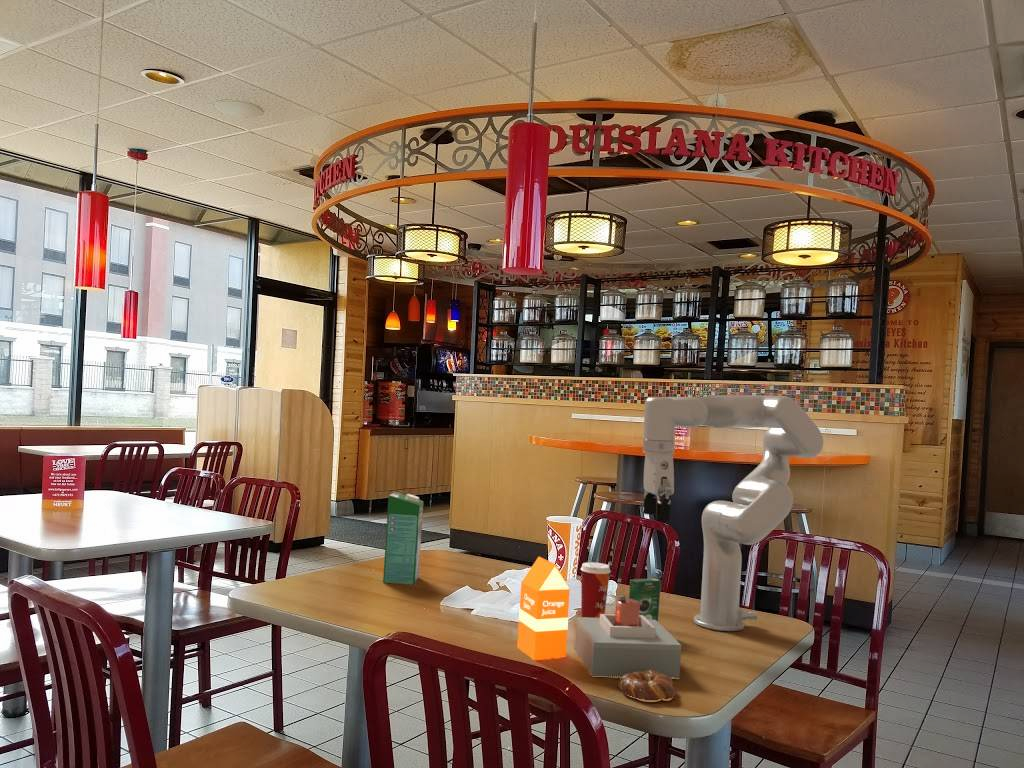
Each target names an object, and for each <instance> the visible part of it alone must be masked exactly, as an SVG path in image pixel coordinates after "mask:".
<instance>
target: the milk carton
mask: <svg viewBox="0 0 1024 768" xmlns="http://www.w3.org/2000/svg"><path fill="white" fill-rule="evenodd" d="M423 512H424V501H423V500H422V499H420V496H416V495H414V494H410V493H407V494H402V493H399V492H396V491H393V492H392V493H390V494H389V495H388V502H387V516H386V518H387V519H386V533H385V547H384V561H383V562H384V563H383V577H382V583H387V584H400V585H401V584H403V585H416V582H417V580H418V579H419V578H420V577H419V573H420V562H421V561H420V558H421V547H422V546H421V543H422V542H421V541H422V529H423V514H424V513H423Z"/></svg>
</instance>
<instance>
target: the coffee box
mask: <svg viewBox="0 0 1024 768" xmlns="http://www.w3.org/2000/svg"><path fill="white" fill-rule="evenodd" d="M661 582H662V581H661V579H658V578H655V577H653V578H636V579H630V580H629V591H628V592H629V593H628V594H629V595H628V599H634V600H637V601H639V602H640V610H639V615H643V616H644V617H645V618H646V619H649V620H656V621H657V622H658V623H659V612H660V611H659V609H660V599H661V598H660V596H661V585H662V583H661Z"/></svg>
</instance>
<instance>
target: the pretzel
mask: <svg viewBox="0 0 1024 768" xmlns="http://www.w3.org/2000/svg"><path fill="white" fill-rule="evenodd" d="M618 688H619V690H620V689H621V690H622V691H621V690H620V691H621V692H622V693H623V695H624V694H626V695H629V696H632V697H635V698H639V699H645V700H658V699H662V698H664V699H668V698H672V697H674V696H676V691H675V688H674V682H673V680H672V679H671V678H670V677H668V676H667V675H664V674H662V673H661V672H659V671H657V670H653V669H649V670H646V671H644V672H641V671H634V672H631V673H628V674H625V675H623V676H622V677H621V678H619V680H618ZM626 695H625V696H626ZM674 698H675V697H674Z"/></svg>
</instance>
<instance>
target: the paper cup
mask: <svg viewBox="0 0 1024 768" xmlns="http://www.w3.org/2000/svg"><path fill="white" fill-rule="evenodd" d="M580 570H581V593H580V594H581V596H580V597H581V603H580V604H581V605H580V606H581V610H580V611H581V612H580V613H581V614H580V615H581V617H588V618H600V614H606V606H607V598H608V590H609V589H608V588H609V580H610V574H611V573H612V570H610V566H609V564H606V563H602V562H593V561H592V562H591V561H590V562H589V561H588V562H583V563H582V565H581V567H580Z"/></svg>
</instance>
